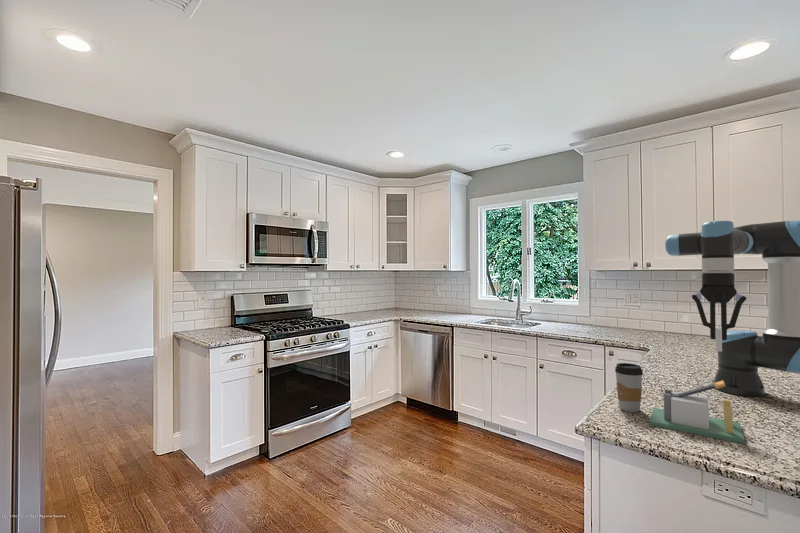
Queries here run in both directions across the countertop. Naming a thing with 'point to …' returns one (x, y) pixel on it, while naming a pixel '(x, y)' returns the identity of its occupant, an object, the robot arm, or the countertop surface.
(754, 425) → the countertop surface
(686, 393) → the strap
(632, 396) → the coffee cup
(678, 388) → the countertop surface
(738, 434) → the heatsink base
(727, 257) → the robot arm
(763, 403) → the countertop surface
